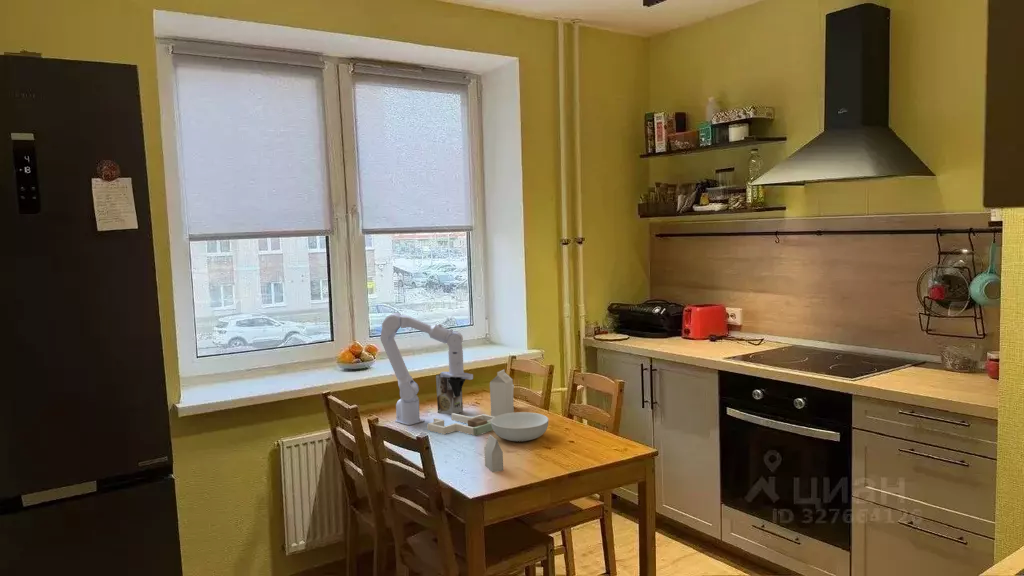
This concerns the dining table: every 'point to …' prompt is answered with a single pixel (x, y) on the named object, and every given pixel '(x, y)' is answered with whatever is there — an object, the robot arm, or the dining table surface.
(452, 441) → the dining table surface
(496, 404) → the milk carton
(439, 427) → the trap channel
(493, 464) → the gray house block
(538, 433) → the serving bowl
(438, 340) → the robot arm
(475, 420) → the walnut block
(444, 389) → the coffee box
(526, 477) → the dining table surface
